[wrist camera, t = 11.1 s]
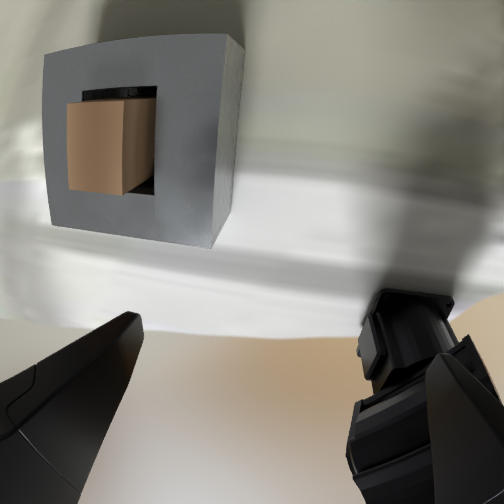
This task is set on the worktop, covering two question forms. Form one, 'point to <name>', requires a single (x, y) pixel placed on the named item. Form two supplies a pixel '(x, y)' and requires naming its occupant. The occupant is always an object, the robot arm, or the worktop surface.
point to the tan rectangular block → (111, 143)
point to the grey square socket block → (166, 134)
